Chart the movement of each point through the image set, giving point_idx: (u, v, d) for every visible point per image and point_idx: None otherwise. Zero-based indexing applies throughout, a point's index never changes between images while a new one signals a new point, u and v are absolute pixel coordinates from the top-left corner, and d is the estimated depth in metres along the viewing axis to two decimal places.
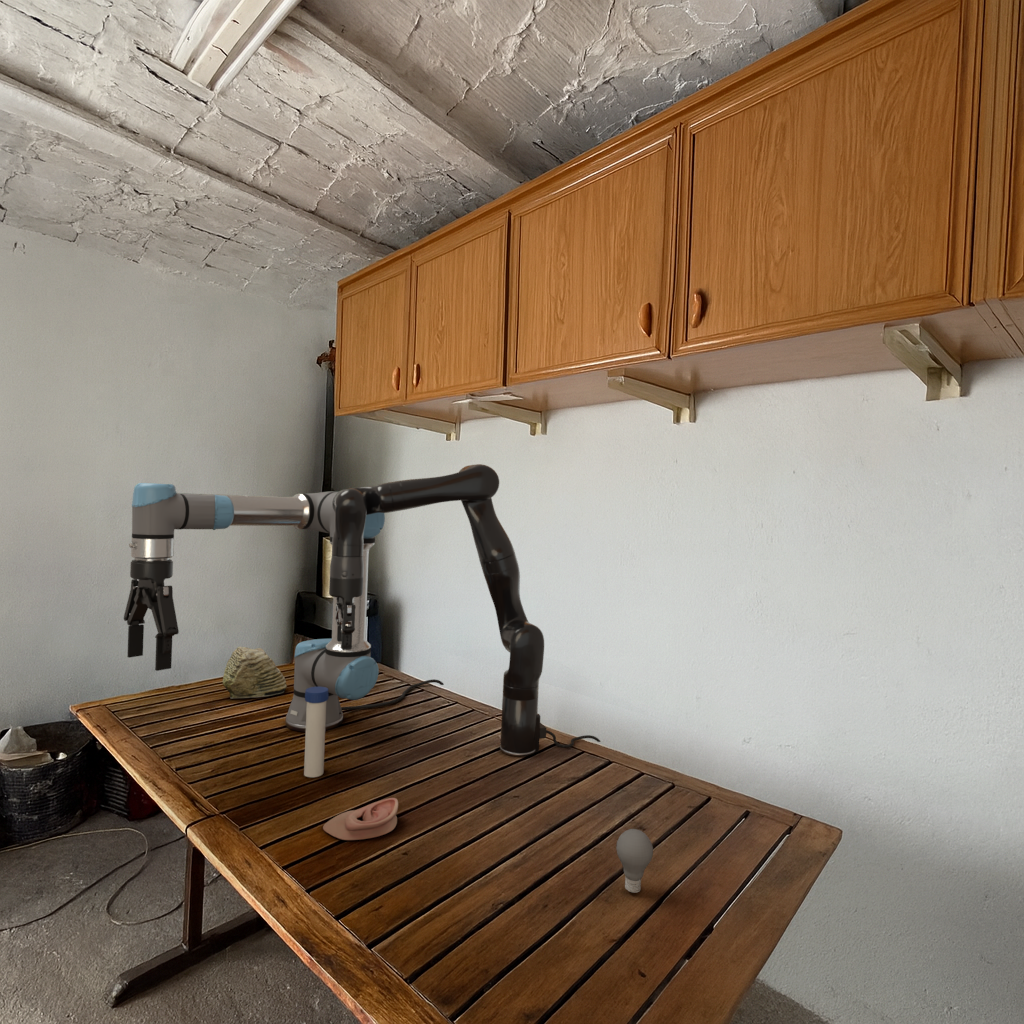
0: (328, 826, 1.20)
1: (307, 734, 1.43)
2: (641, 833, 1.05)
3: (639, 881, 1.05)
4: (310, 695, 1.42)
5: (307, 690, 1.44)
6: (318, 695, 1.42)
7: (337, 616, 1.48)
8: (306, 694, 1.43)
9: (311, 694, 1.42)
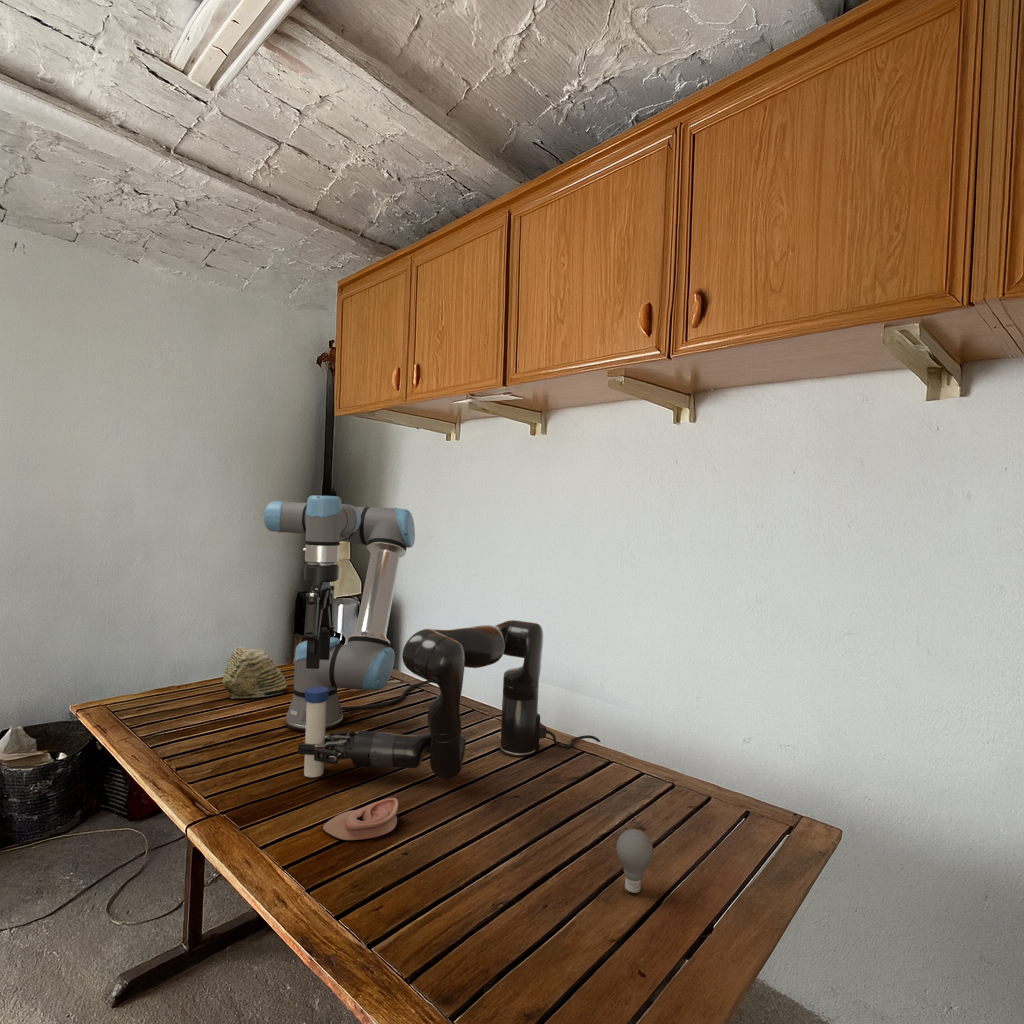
0: (328, 826, 1.20)
1: (307, 734, 1.43)
2: (641, 833, 1.05)
3: (639, 881, 1.05)
4: (310, 695, 1.42)
5: (307, 690, 1.44)
6: (318, 695, 1.42)
7: None
8: (306, 694, 1.43)
9: (311, 694, 1.42)
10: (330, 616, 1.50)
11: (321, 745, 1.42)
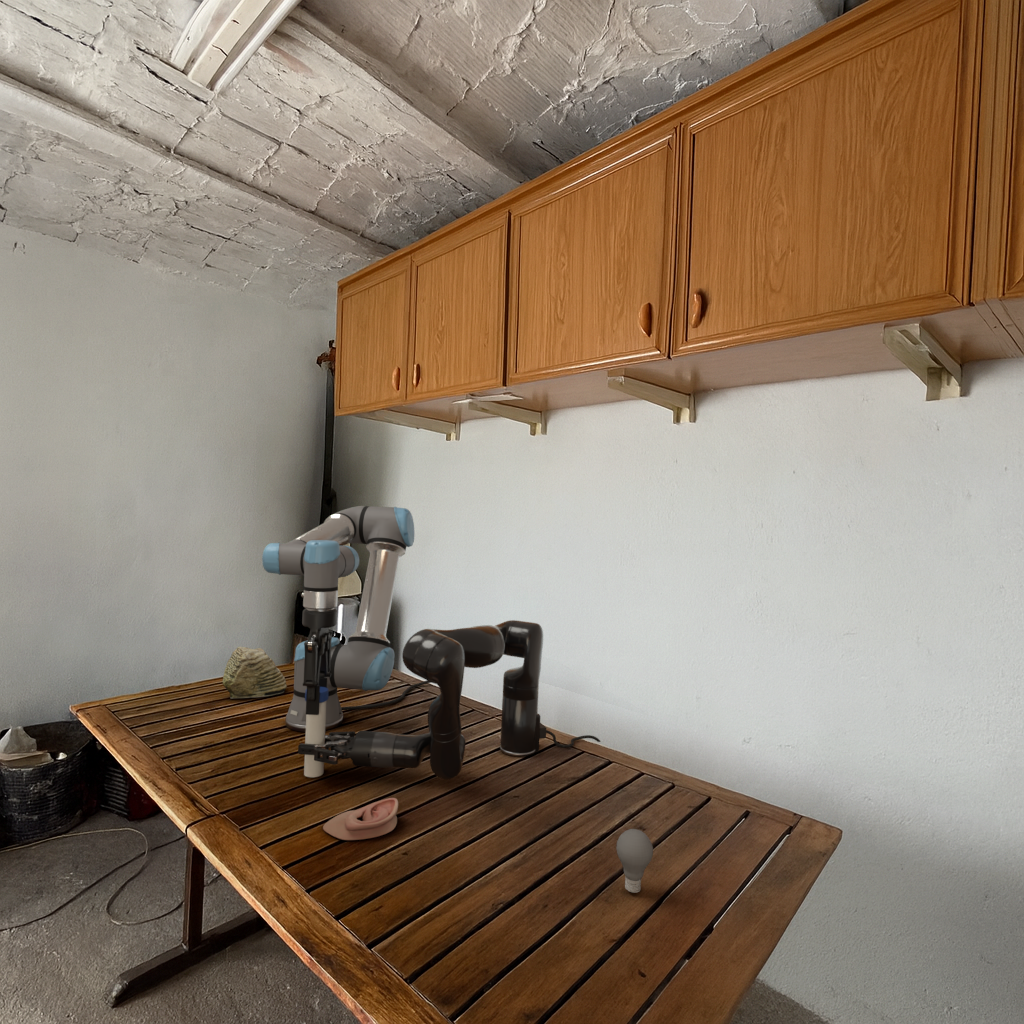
0: (328, 826, 1.20)
1: (307, 734, 1.43)
2: (641, 833, 1.05)
3: (639, 881, 1.05)
4: None
5: None
6: None
7: None
8: (306, 694, 1.43)
9: None
10: (327, 661, 1.49)
11: (321, 745, 1.42)
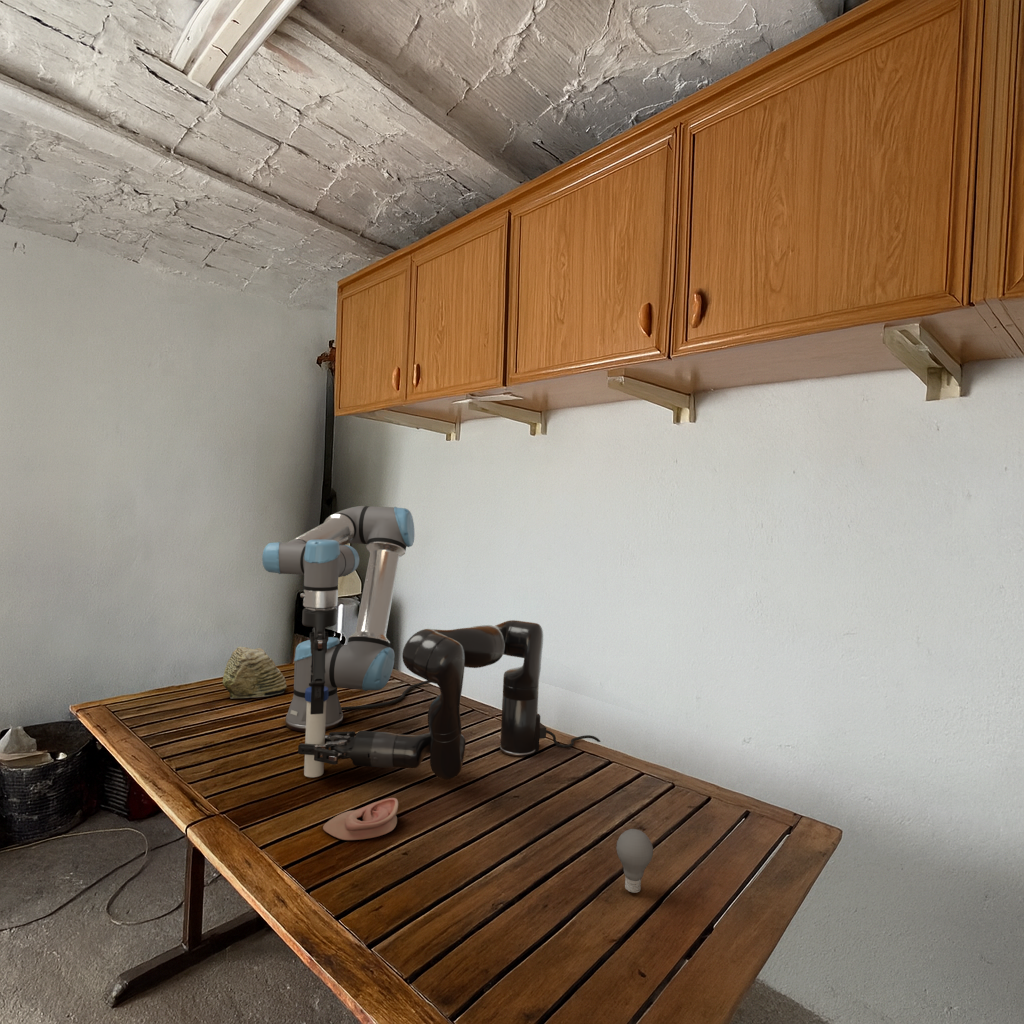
0: (328, 826, 1.20)
1: (307, 734, 1.43)
2: (641, 833, 1.05)
3: (639, 881, 1.05)
4: None
5: None
6: (327, 692, 1.44)
7: None
8: None
9: None
10: None
11: (321, 745, 1.42)
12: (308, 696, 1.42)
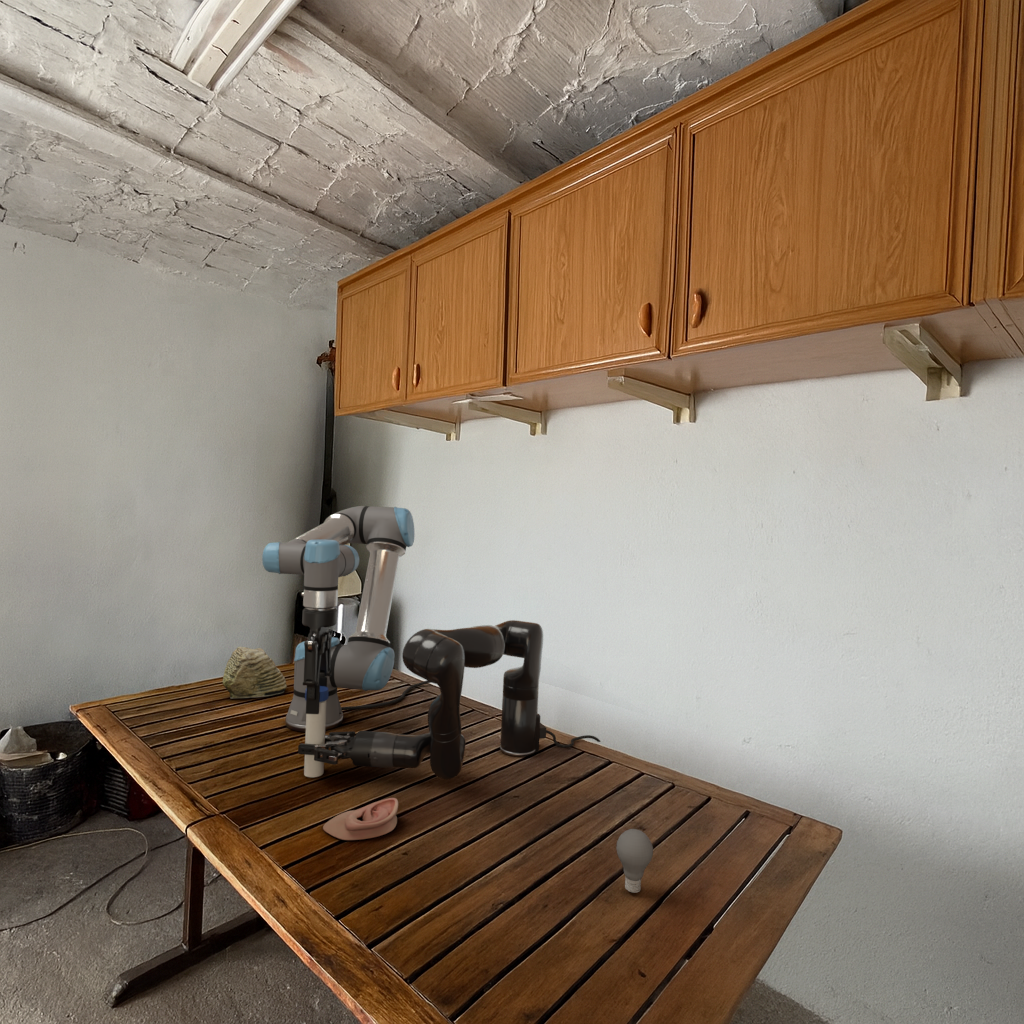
0: (328, 826, 1.20)
1: (307, 734, 1.43)
2: (641, 833, 1.05)
3: (639, 881, 1.05)
4: (321, 694, 1.43)
5: None
6: (327, 692, 1.44)
7: None
8: None
9: (322, 693, 1.43)
10: (327, 661, 1.49)
11: (321, 745, 1.42)
12: None
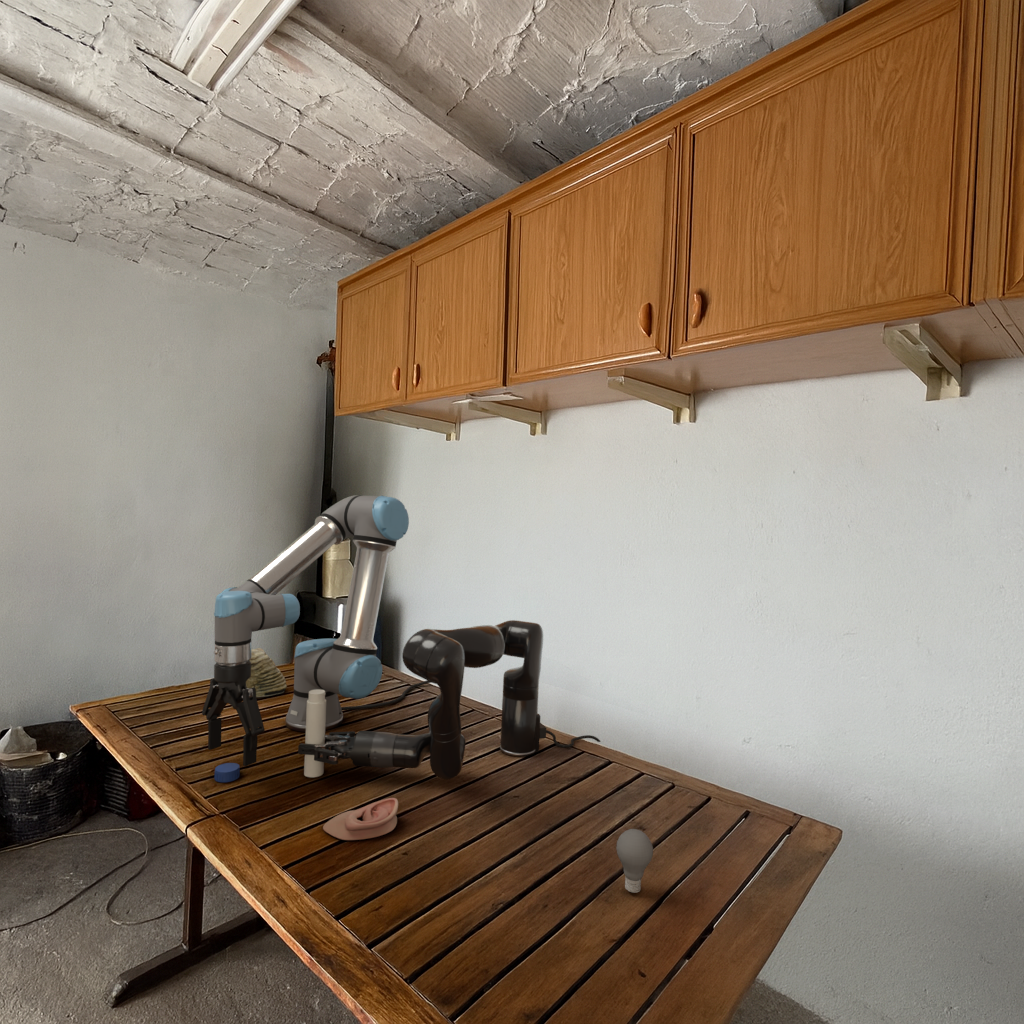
0: (328, 826, 1.20)
1: (307, 734, 1.43)
2: (641, 833, 1.05)
3: (639, 881, 1.05)
4: (238, 770, 1.41)
5: (231, 770, 1.39)
6: None
7: None
8: (234, 773, 1.40)
9: (238, 768, 1.41)
10: None
11: (321, 745, 1.42)
12: (227, 776, 1.39)
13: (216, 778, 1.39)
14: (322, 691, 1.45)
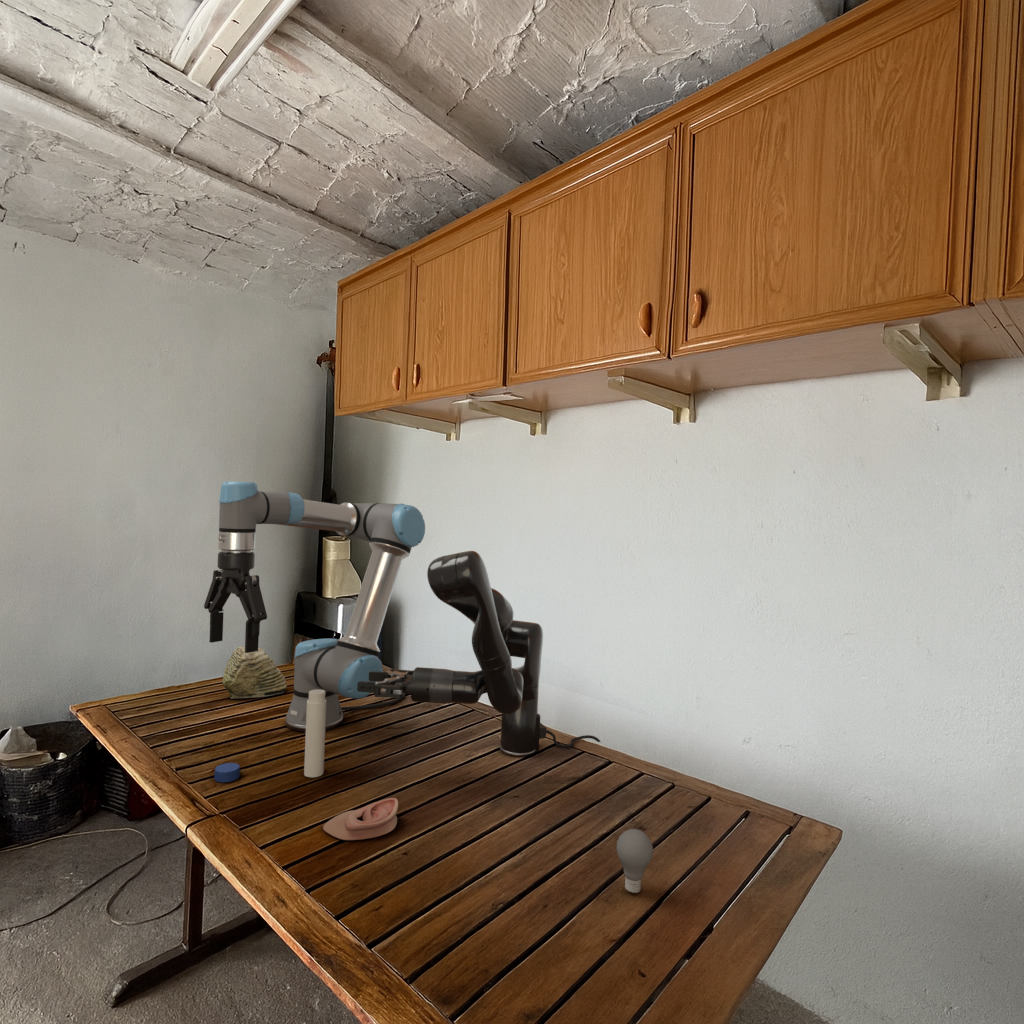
0: (328, 826, 1.20)
1: (307, 734, 1.43)
2: (641, 833, 1.05)
3: (639, 881, 1.05)
4: (238, 770, 1.41)
5: (231, 770, 1.39)
6: None
7: None
8: (234, 773, 1.40)
9: (238, 768, 1.41)
10: None
11: (381, 682, 1.39)
12: (227, 776, 1.39)
13: (216, 778, 1.39)
14: (322, 691, 1.45)
